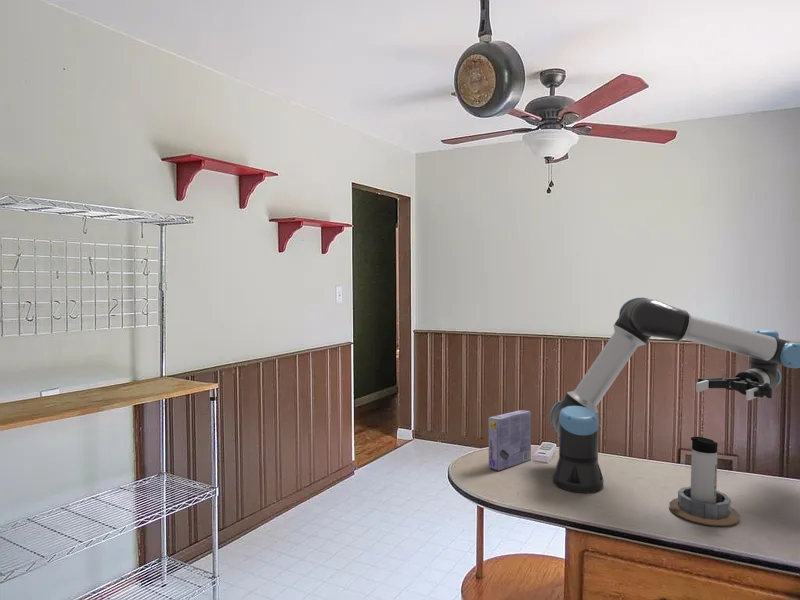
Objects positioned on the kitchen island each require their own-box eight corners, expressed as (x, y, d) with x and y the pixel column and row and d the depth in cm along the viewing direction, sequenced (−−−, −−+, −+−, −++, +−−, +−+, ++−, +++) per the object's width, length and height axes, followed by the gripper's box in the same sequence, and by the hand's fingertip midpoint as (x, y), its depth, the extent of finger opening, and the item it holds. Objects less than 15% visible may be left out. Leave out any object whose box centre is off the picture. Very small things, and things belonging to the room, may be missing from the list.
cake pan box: (522, 455, 202) (522, 407, 201) (533, 459, 198) (534, 410, 197) (487, 468, 190) (487, 417, 189) (498, 472, 186) (498, 420, 185)
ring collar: (655, 504, 159) (656, 487, 159) (702, 497, 165) (702, 480, 164) (704, 531, 143) (705, 512, 143) (754, 521, 148) (755, 503, 148)
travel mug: (684, 504, 157) (686, 434, 156) (708, 504, 157) (710, 434, 156) (695, 513, 151) (697, 441, 150) (720, 514, 151) (722, 441, 150)
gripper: (797, 401, 165) (770, 412, 152) (709, 387, 184) (678, 396, 172) (798, 376, 164) (771, 385, 151) (709, 364, 184) (678, 372, 171)
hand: (721, 391), depth 161 cm, fingers open, 13 cm apart
